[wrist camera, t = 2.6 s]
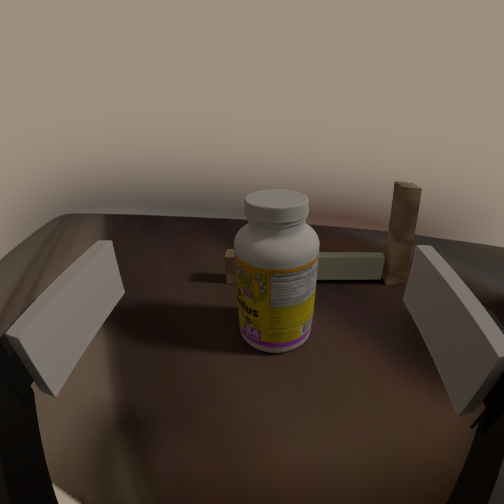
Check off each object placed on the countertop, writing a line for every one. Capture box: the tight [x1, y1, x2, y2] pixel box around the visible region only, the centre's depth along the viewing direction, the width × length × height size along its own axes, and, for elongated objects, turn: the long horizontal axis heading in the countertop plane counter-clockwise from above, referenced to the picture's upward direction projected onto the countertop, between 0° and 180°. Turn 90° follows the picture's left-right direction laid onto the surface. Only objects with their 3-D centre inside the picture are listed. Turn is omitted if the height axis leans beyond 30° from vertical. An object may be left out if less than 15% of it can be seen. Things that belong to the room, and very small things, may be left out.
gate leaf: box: [316, 252, 385, 280], centre depth 34 cm, size 16×2×3 cm, turn 86°
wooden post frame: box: [225, 182, 421, 285], centre depth 32 cm, size 22×2×12 cm, turn 86°
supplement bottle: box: [234, 189, 319, 353], centre depth 24 cm, size 7×7×13 cm
